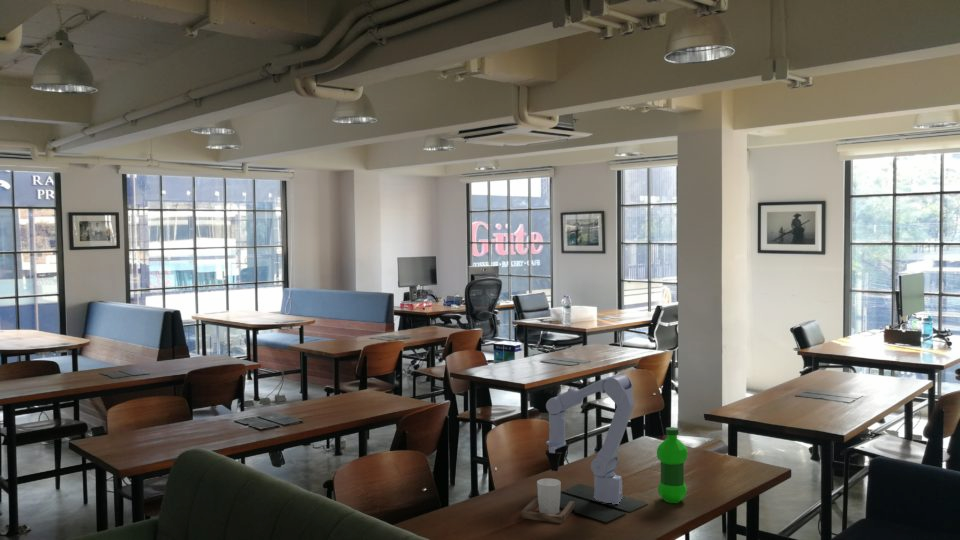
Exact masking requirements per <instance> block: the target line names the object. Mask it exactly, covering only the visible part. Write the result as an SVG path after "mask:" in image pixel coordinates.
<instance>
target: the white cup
mask: <svg viewBox="0 0 960 540" xmlns="http://www.w3.org/2000/svg"><path fill="white" fill-rule="evenodd" d="M561 483H562V482H561V481H560V480H559V479H556V478H541V479H538V480H537V481H536V489H537V497H538V503H539V504H538V512H539V513H547V514H555V515H558V514H560V504H561V486H562V485H561Z"/></svg>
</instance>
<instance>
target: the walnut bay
mask: <svg viewBox="0 0 960 540" xmlns="http://www.w3.org/2000/svg"><path fill="white" fill-rule="evenodd" d="M575 502H576V501H575V500H574V501H572V500H570V501H569V502H568V503H567V505H566V506H564V508H563V510H562V511H561V512H559V514H547V513H540V512H539V511H538V512H537V511H534V510H535V508H536V507H537V506H539V503H538V496H534V497H533V499H531V500H530V501H529V503H527V504H526V506H525V507H523V509H522V511H521V519H527V520H533V521H541V522H548V523H557V524H562V523H564V522H565V520H566V519H567V518H568V517H569V516H570V514H571V513H572V512H573V510H572V508H573V507H574V506H576V505H575Z"/></svg>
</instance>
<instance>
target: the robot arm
mask: <svg viewBox="0 0 960 540" xmlns="http://www.w3.org/2000/svg"><path fill="white" fill-rule="evenodd" d="M633 387H634V384H633V383H632V380H631V378H630V377H629V376H628V375H626V374H624V373H619V374H617V375H612V376H608V377H606V378H602V379H600V380H596V381H595V382H593V383H591V384H589V385H587V386H584V387H583V388H581V389H579V388H576V387H575V388H573V387H569V388H568V389H567V391H565V392H563V393H561V392H560V393H557V394H556V395H557V396H554V397H551V398H549V399H548V400H547V402H546V403H545V408H546V411H547V413H548V432H549V433H548V435H549V437H548V438H549V439H548V440H547V441H546V442H545V444H546V445H548V449H547V450H546V451H545V455H546V457H547V459H548V462H549V466H550V469H551V471H552V472H558V470H559V467H560V466H564V463H565V458H566V454H567V451H568V449H569V447H570V445H569V444H567V442H566V411H567V410H569V409H572V408H573V407H576V406H578V405H580V404H582V403H583V401H584V398H587V397H589V396H591V395H594V394H597V393H598V392H599V393H601V394H606V395H607V397H609V398H610V399H611V400H612V401H613V402H614V404H615V406H616V409H615V411H614V414H613V418H612V419H611V423H610V424H609V425H610V426H609V428H608V430H607V433H606V436H605V439H604V442H603V445H602V447H601V448H600V450H599V451H598V453H597V454H596V457H595V458H594V459H593V460H592V461H591V464H590V469H591V471H592V473H593V479H594V480H593V485H594V487H593V488H594V489H593V490H594V491H593V493H594V494H593V495H594V496H593V497H594V498H595V499H596V500H599V501H603V502H606V503H612V504H611V505H615V504H618V505H620V503H621V502H622V500H623V498H622V497H623V477H622V476H621V475H618V474H616V469H617V468H618V465H619V460H618V459H619V454H620V453H619V451H618V450H619V447H620V445H621V442H622V440H623V437H624V434H625V431H626V428H627V426H628V423H629V421H630V417H631V415H632V412H633V410H634V406H635V401H634V393H633ZM621 499H622V500H621ZM619 502H620V503H619ZM606 503H605V504H606Z"/></svg>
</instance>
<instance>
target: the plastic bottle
mask: <svg viewBox="0 0 960 540" xmlns="http://www.w3.org/2000/svg"><path fill="white" fill-rule="evenodd" d="M665 435H667V438H666V439H664V440H663V441H662V442H661V443H659V444H658V447H657V448H656V449H657V450H656V456H657V457H656V458H657V460H659V461H660V482H659V484H658V487H657V492H658V495H659V496H660V497H661V499H663V500H664V502H667V503H670V504H679V503H680V502H682V500H684V498H685V497H686V496H687V489H688V488H687V485H686V483H685V462H687V460H688V455H689V453H688V452H689V451H688V448H687V446H686V445H685V444H684V443H683V442H682V441H681V440H679V439H678V435H679V427H669V426H668V427H666V428H665Z"/></svg>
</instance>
